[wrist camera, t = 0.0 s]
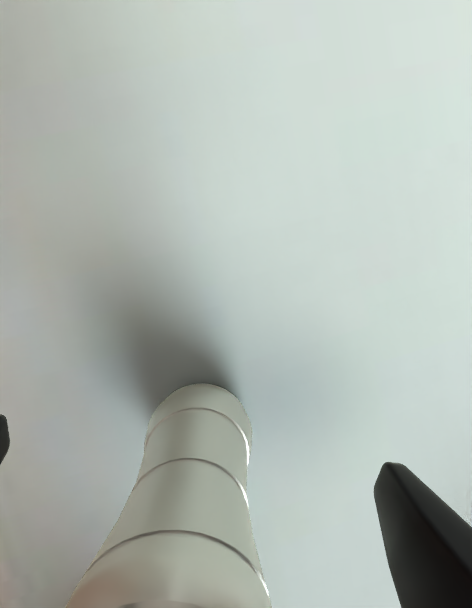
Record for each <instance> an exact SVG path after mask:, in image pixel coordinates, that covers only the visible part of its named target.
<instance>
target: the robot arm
mask: <svg viewBox="0 0 472 608" xmlns="http://www.w3.org/2000/svg"><path fill="white" fill-rule="evenodd" d="M9 445H10V438H9V432H8V425H7V419H6V417H5V416H4V415H1V414H0V464H1V462H2V461H3V459H4V457H5V455H6V454H7V452H8V449H9ZM374 498H375V503H376V507H377V512H378V517H379V522H380V527H381V531H382V536H383V541H384V546H385V550H386V555H387V559H388V564H389V568H390V571H391V575H392V578H393V581H394V585H395V588H396V591H397V594H398V598H399V601H400V604H401V607H402V608H472V527H471V526H470V525H469V524H468V523H467V522H465V521H464V520H463V519H462V518H461V517H460V516H459V515H458V514H457V513H456V512H455V511H454V510H452V509H451V508H450V507H449V506H448V505H447V504H446V503H445V502H444V501H443V500H442V499H440V498H439V497H438V496H437V495H436V494H435V493H434V492H433V491H432V490H431V489H430V488H429V487H427V486H426V485H425V484H424V483H423V482H422V481H421V480H420V479H419V478H418V477H417V476H416V475H414V474H413V473H412V472H411V471H410V470H409V469H408V468H407V467H406V466H404V465H403V464H400V463H392V462H386V463H384V464H383V466H382V468H381V471H380V473H379V475H378V478H377V480H376V483H375V486H374Z"/></svg>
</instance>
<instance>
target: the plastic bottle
mask: <svg viewBox="0 0 472 608" xmlns="http://www.w3.org/2000/svg"><path fill="white" fill-rule="evenodd" d="M251 445H252V428H251V423H250V420H249V418H248V416H247V413H246V411H245V409H244V408H243V406H242V404H241V403H240V401H239V400H238V399H237V398H236V397H235V396H234V395H233V394H232V393H230V392H229V391H227V390H225V389H224V388H221V387H219V386H216V385H211V384H192V385H187V386H185V387H182V388H180V389H178V390H176V391H175V392H173V393H171V394H170V395H169V396H168V397H167V398H166V399H165V400H164V401H163V402H162V403H161V404H160V405H159V406H158V407H157V409H156V410H155V412H154V413H153V414H152V417H151V419H150V421H149V423H148V428H147V433H146V438H145V443H144V456H143V459H142V463H141V467H140V470H139V474H138V478H137V481H136V484H135V486H134V488H133V490H132V492H131V494H130V496H129V498H128V500H127V502H126V504H125V506H124V508H123V510H122V513H121V515H120V517H119V519H118V521H117V522H116V524H115V526H114V527H113V529H112V530H111V532H110V534H109V535H108V537H107V539H106V540H105V542H104V543H103V545H102V547H101V548H100V550H99V551H98V553H97V555H96V556H95V558H94V559H93V561H92V563H91V564H90V566H89V567H88V569H87V571H86V572H85V574H84V575H83V577H82V579H81V581H80V582H79V583H78V585H77V586H76V588H75V590H74V592H73V594H72V596H71V598H70V600H69V602H68V603H67V605H66V607H65V608H272V606H271V601H270V598H269V595H268V591H267V587H266V583H265V579H264V575H263V572H262V568H261V564H260V561H259V557H258V553H257V549H256V546H255V542H254V538H253V534H252V527H251V520H250V514H249V509H248V500H247V494H246V486H247V465H248V461H249V457H250V453H251Z"/></svg>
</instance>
